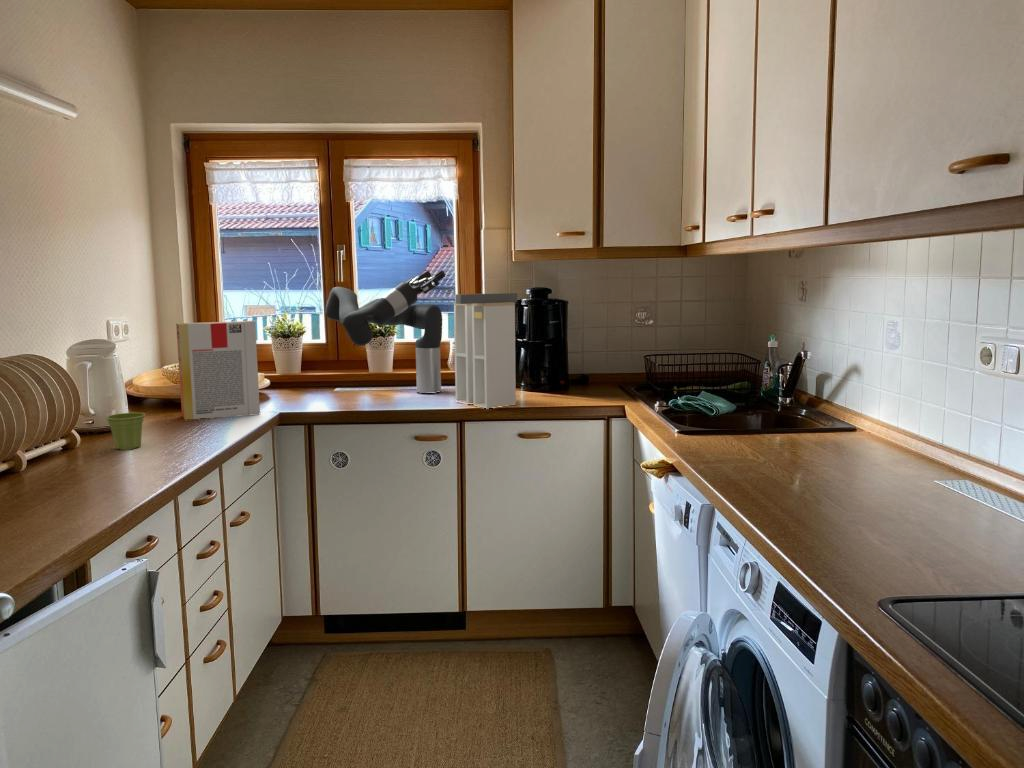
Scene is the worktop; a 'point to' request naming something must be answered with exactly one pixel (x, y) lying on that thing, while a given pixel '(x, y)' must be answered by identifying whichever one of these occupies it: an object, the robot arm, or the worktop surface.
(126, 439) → the plant pot
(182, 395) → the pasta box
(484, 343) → the rack
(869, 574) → the worktop surface
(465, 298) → the slat
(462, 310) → the rack
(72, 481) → the worktop surface
